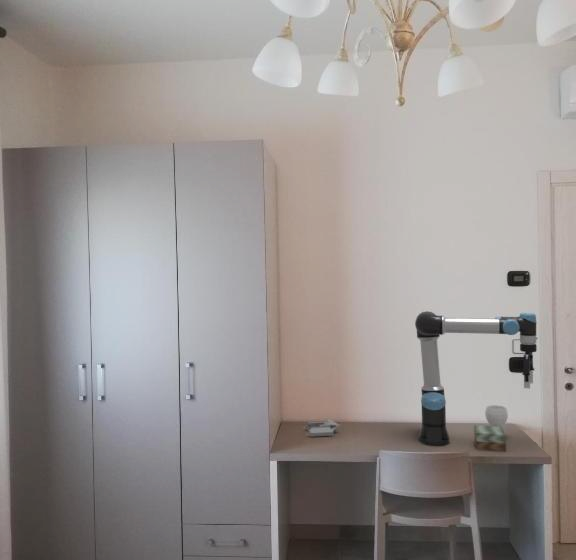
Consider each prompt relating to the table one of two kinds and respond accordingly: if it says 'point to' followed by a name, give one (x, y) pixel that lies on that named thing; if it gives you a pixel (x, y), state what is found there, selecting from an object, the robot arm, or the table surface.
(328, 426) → the spaceship toy
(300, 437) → the table surface
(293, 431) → the table surface
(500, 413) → the cup
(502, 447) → the tower base
